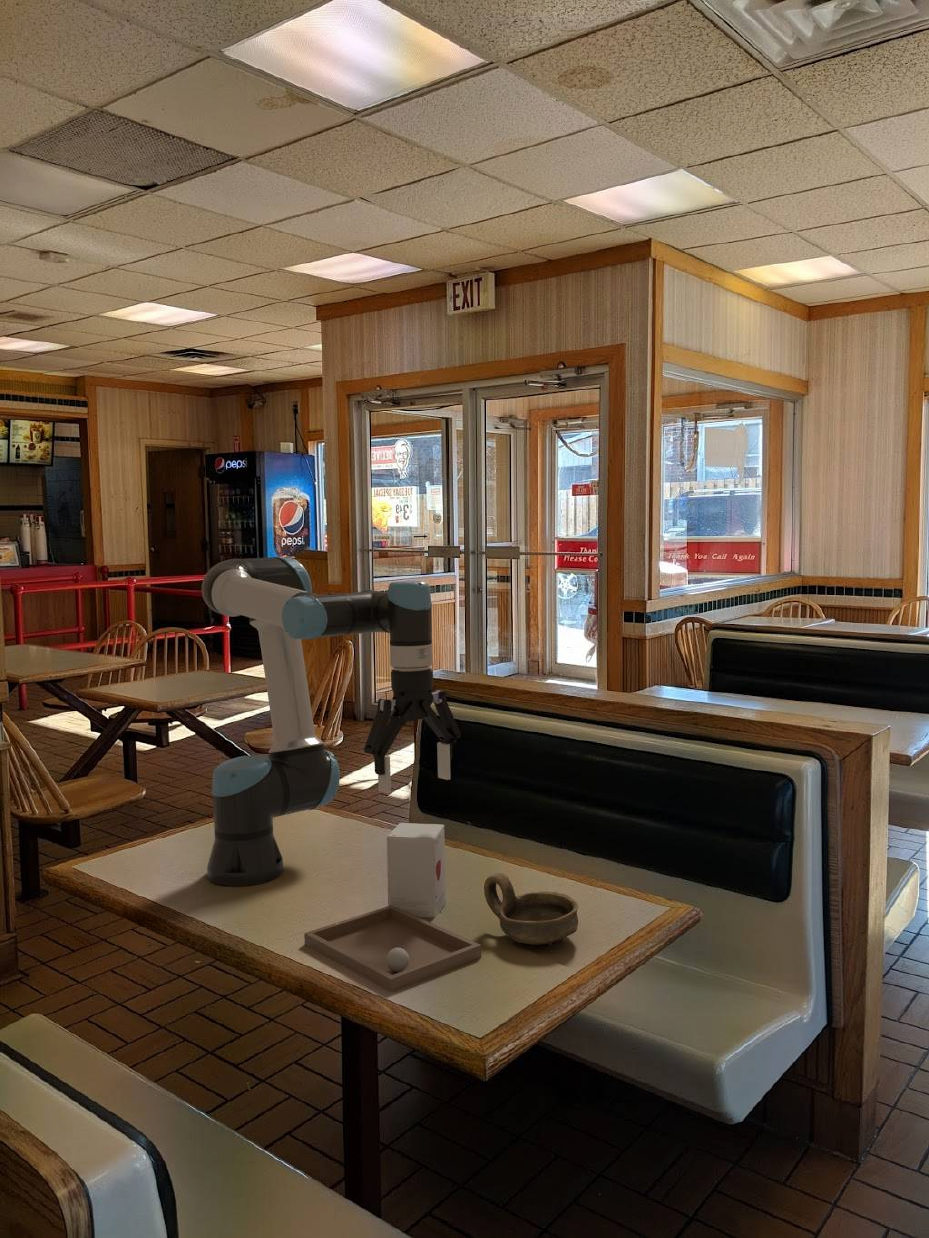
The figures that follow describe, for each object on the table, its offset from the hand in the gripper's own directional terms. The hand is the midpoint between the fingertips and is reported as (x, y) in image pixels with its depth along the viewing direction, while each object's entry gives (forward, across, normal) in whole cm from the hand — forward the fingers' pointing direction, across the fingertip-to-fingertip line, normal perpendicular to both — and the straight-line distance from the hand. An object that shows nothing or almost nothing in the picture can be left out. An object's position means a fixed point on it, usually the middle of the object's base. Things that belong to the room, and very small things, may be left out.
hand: (415, 785), depth 182 cm
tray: (+23, -15, -12) cm, 30 cm away
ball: (+23, -19, -19) cm, 35 cm away
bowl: (+24, +6, -23) cm, 33 cm away
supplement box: (+23, 0, 0) cm, 23 cm away
